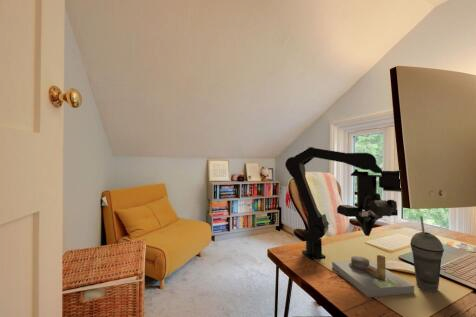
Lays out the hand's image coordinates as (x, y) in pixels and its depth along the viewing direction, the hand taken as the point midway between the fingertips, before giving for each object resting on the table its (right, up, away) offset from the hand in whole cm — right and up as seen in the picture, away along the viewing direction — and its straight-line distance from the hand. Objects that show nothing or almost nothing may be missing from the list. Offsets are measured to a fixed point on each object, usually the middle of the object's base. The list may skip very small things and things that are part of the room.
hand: (366, 235), depth 70 cm
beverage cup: (+10, -11, -11) cm, 19 cm away
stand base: (-4, -11, -7) cm, 13 cm away
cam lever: (-4, -8, -6) cm, 11 cm away
